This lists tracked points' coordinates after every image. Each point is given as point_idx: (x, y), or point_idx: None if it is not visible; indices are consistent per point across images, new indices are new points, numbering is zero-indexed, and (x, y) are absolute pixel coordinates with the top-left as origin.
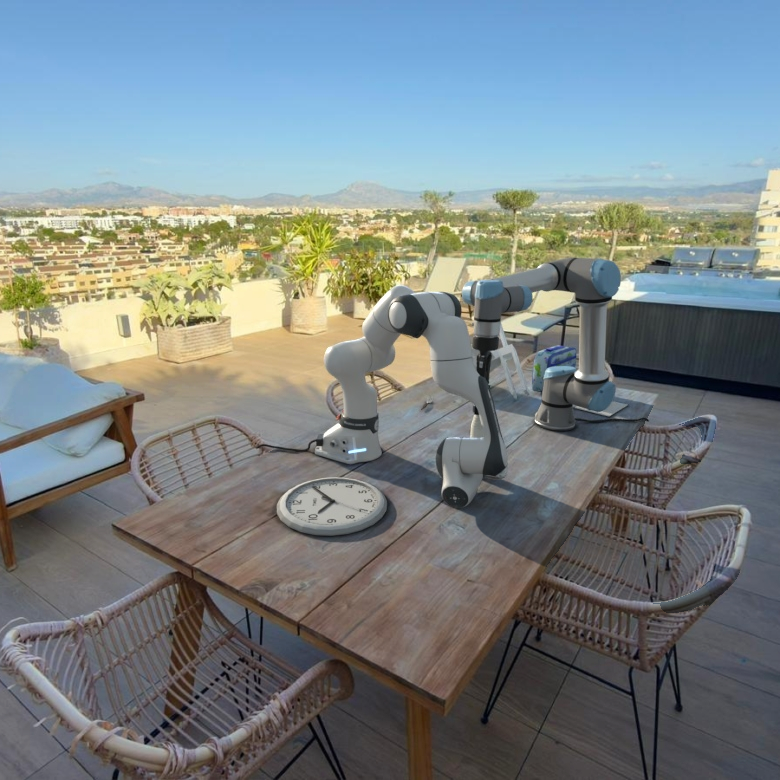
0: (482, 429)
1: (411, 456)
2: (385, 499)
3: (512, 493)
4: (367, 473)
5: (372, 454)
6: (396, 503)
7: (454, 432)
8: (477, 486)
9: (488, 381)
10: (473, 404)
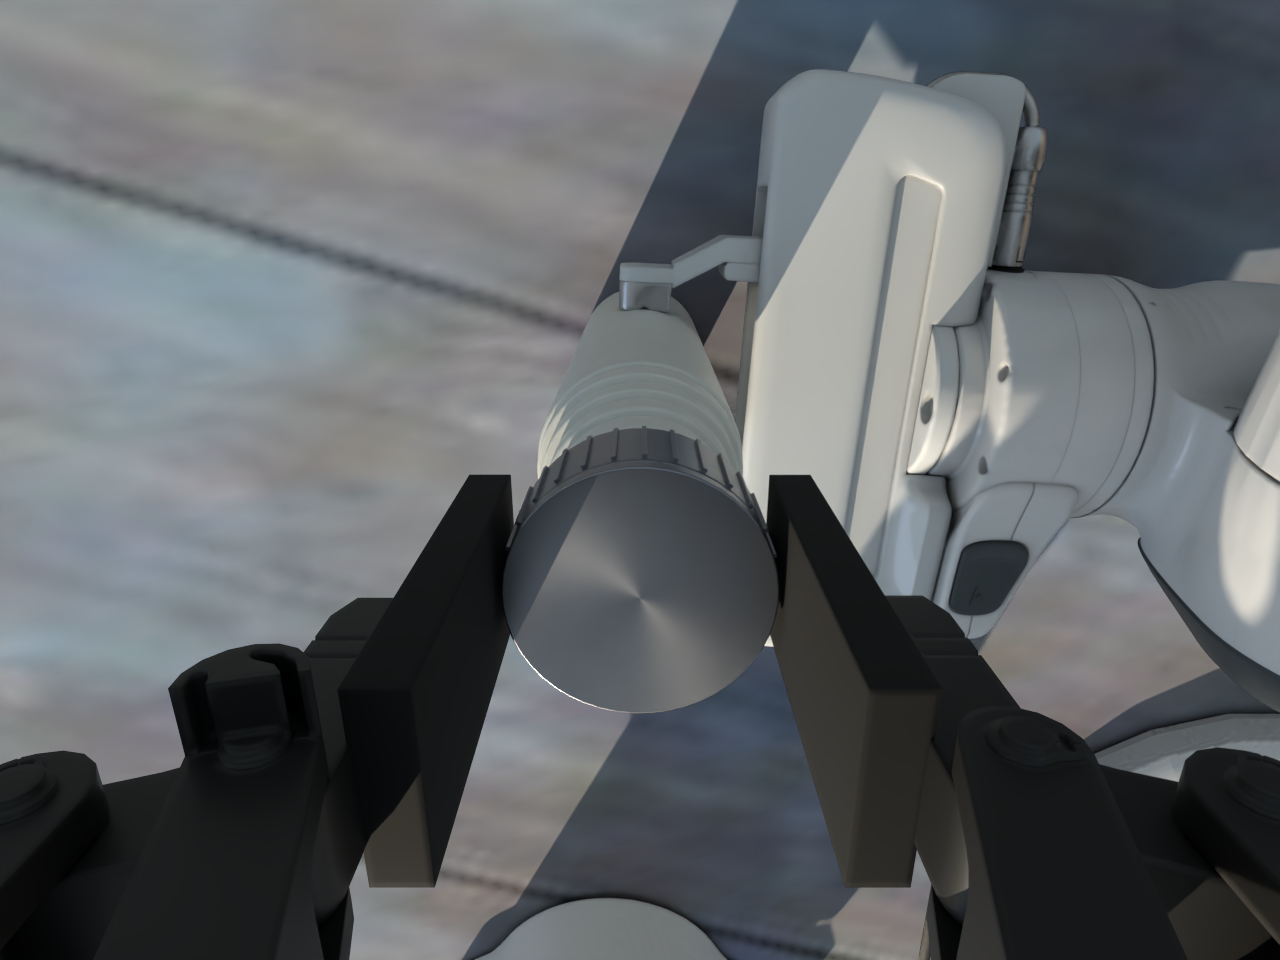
0: (728, 411)
1: (539, 758)
2: (1144, 749)
3: (879, 33)
4: (833, 890)
5: (671, 944)
6: (1136, 689)
7: (7, 604)
8: (1263, 284)
9: (48, 835)
10: (667, 709)
